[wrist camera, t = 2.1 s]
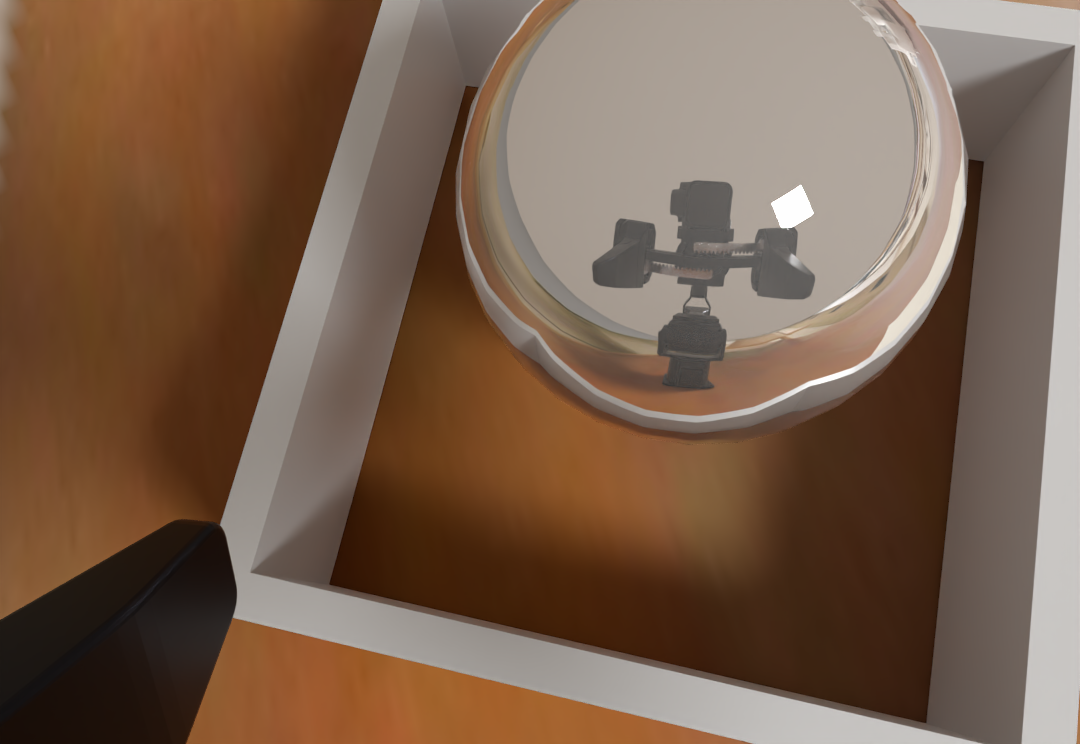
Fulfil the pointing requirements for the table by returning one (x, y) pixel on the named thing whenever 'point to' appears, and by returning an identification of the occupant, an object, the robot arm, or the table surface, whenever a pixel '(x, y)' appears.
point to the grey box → (981, 436)
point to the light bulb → (711, 205)
